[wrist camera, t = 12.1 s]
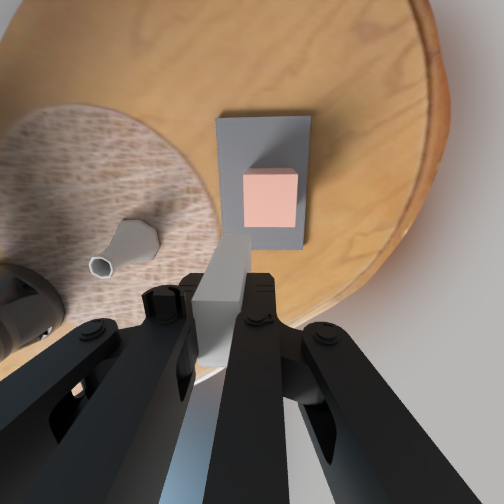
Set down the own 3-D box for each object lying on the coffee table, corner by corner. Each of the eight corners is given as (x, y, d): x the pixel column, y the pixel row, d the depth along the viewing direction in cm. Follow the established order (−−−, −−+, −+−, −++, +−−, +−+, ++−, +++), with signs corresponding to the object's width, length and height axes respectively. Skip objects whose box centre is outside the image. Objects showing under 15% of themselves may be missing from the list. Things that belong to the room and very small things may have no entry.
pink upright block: (249, 210, 37) (244, 226, 30) (248, 168, 35) (243, 174, 28) (290, 210, 37) (295, 227, 29) (291, 167, 35) (298, 174, 27)
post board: (225, 246, 41) (217, 263, 35) (217, 118, 34) (206, 114, 28) (301, 247, 40) (307, 264, 34) (309, 116, 33) (318, 110, 27)
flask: (163, 225, 40) (131, 249, 31) (157, 265, 43) (127, 298, 34) (117, 212, 40) (71, 233, 31) (115, 254, 43) (72, 284, 33)
